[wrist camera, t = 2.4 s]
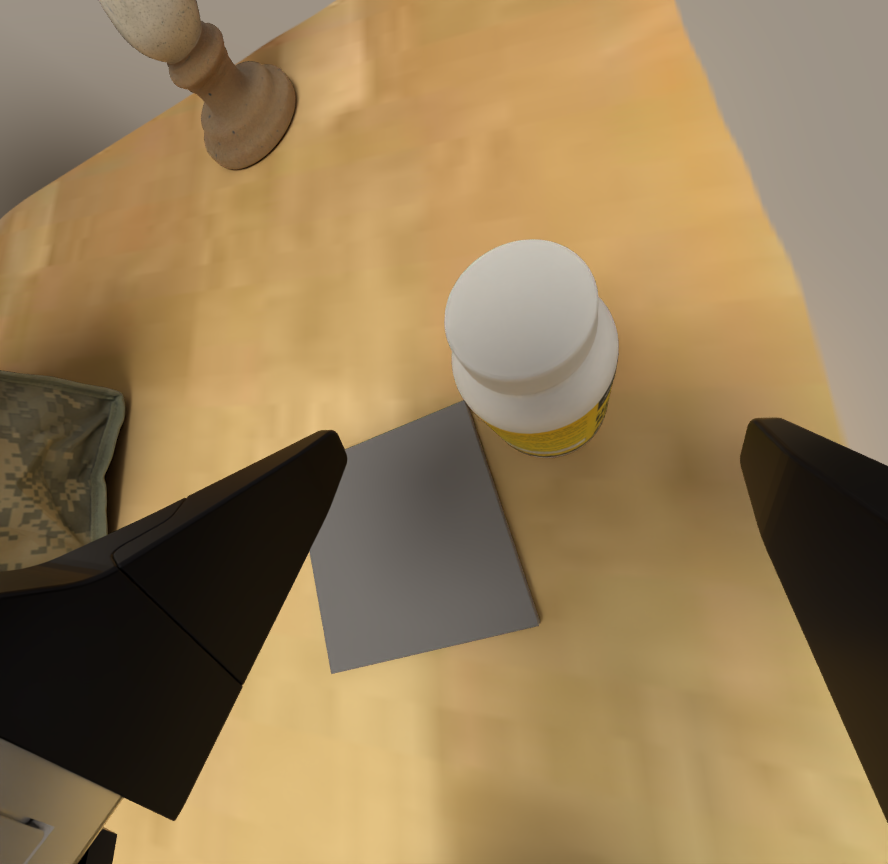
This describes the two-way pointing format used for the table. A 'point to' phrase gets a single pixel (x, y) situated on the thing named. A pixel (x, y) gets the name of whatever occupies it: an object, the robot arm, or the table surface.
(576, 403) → the supplement bottle
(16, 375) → the bag
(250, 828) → the table surface
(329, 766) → the table surface
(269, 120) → the candle holder
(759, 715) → the table surface
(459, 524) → the mat
